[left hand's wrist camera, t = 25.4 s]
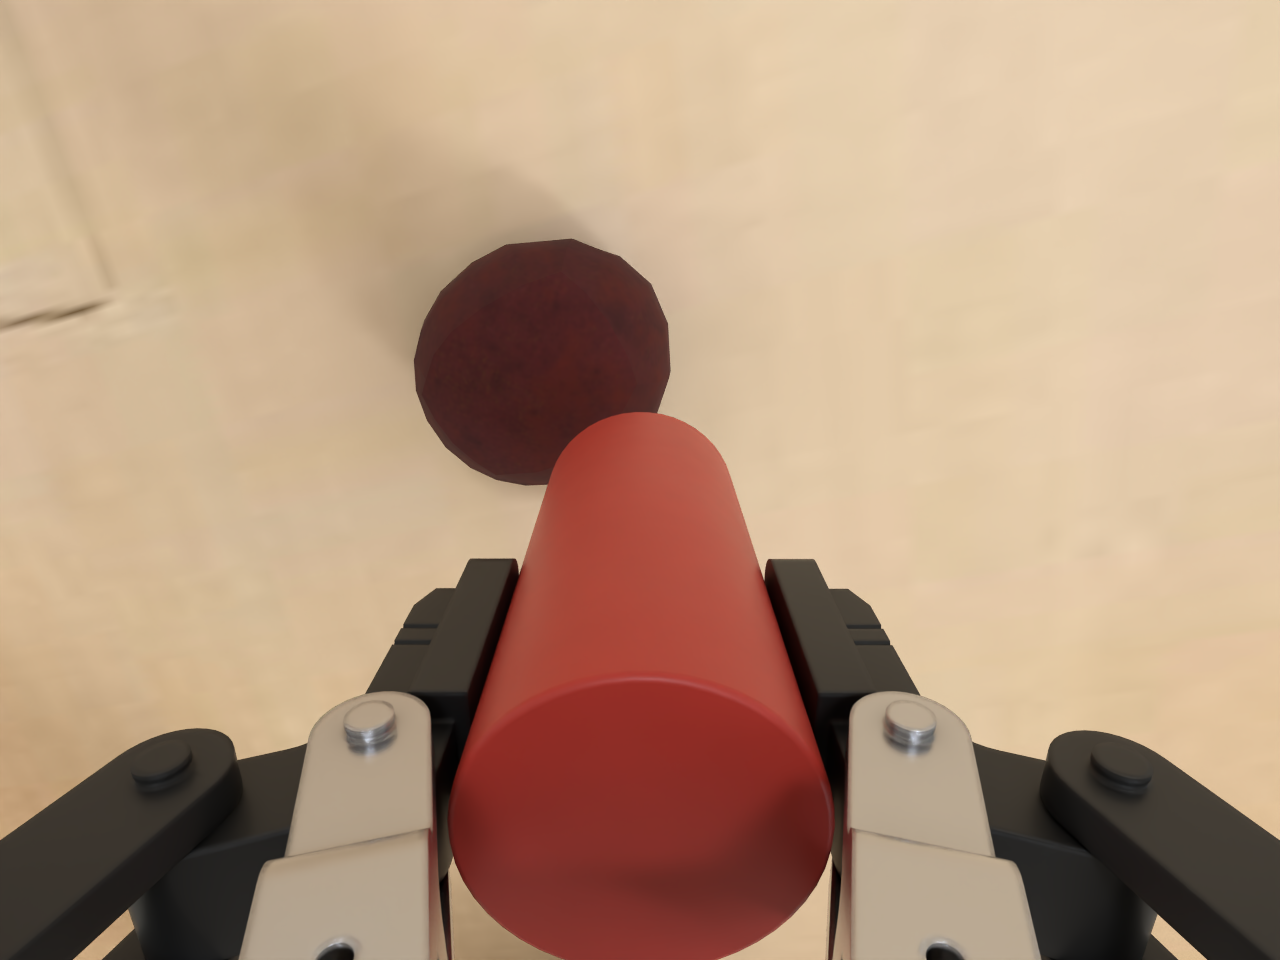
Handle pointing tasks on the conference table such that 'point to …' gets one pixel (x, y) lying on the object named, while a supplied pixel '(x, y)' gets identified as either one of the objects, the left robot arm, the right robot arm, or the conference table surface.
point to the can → (640, 720)
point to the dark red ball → (538, 355)
